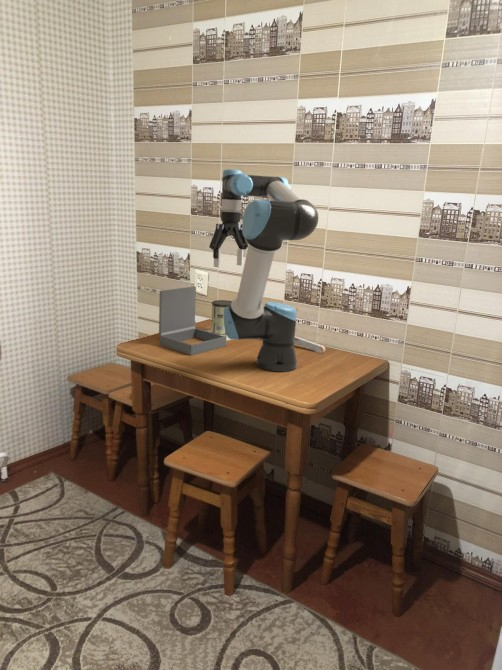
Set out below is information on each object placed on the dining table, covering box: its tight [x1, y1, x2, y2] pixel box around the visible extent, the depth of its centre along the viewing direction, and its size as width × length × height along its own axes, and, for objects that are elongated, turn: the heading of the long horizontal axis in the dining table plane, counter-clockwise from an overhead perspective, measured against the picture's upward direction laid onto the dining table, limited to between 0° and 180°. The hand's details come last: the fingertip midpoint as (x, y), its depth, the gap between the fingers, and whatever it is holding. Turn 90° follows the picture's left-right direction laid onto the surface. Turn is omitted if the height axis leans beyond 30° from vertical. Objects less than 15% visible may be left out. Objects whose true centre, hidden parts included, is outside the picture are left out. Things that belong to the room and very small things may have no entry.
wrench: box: [294, 335, 326, 354], centre depth 224 cm, size 8×2×30 cm
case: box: [158, 285, 227, 356], centre depth 214 cm, size 19×20×22 cm
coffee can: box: [210, 299, 233, 336], centre depth 233 cm, size 10×10×14 cm
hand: (228, 266), depth 210 cm, fingers open, 13 cm apart
